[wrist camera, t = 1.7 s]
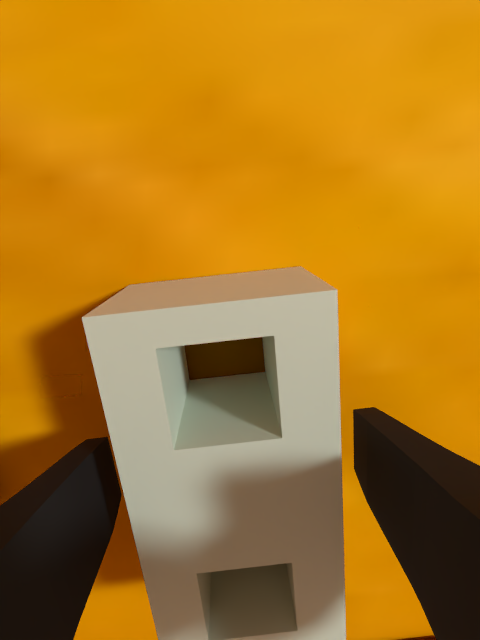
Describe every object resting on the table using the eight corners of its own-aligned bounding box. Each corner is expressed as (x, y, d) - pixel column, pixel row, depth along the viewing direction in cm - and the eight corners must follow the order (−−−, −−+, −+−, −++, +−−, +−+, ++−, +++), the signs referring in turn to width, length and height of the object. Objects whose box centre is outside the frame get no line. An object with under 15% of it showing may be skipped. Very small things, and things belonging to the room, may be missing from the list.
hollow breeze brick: (314, 535, 13) (346, 645, 10) (180, 551, 13) (164, 667, 10) (300, 266, 10) (337, 289, 7) (129, 284, 10) (81, 317, 7)
